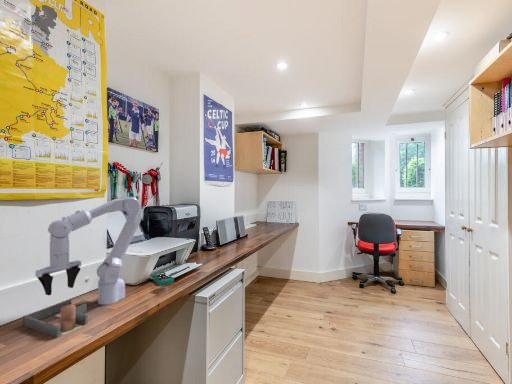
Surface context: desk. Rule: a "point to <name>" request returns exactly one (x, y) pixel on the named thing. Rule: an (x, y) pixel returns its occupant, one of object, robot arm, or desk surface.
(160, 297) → the desk surface
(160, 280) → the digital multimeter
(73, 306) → the peg
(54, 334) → the rails
